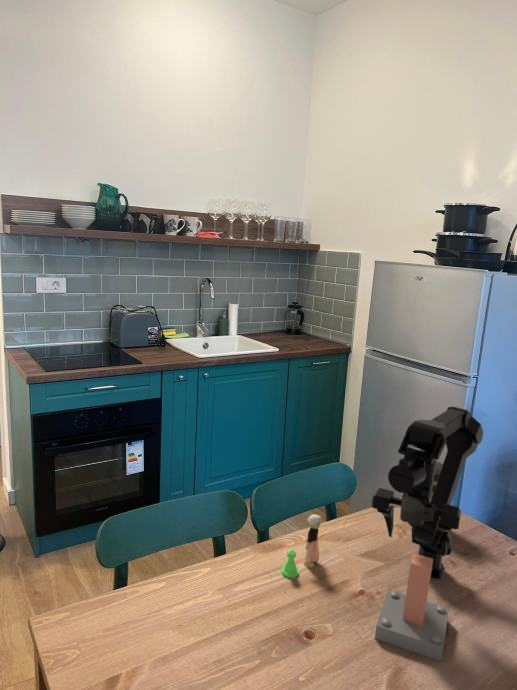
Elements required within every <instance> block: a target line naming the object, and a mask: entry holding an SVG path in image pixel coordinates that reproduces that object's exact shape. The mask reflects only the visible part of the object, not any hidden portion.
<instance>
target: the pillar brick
mask: <svg viewBox="0 0 517 690" xmlns="http://www.w3.org/2000/svg"><path fill="white" fill-rule="evenodd" d="M432 564H433V559H432V558H429V557H425V556H422V555H418V554H417V553H414V552H413V553H412V557H411V561H410V565H409V572H408V577H407V578H408V579H407V587H406V592H405V595H406V599H405V606H404V613H403V620H406V621H409V622H412V623H415V624H418V625H421V626H423V621H424V617H425V611H426V604H427V602H428V596H429V589H430V584H431V577H432V576H431V571H432Z"/></svg>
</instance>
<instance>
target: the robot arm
mask: <svg viewBox="0 0 517 690" xmlns="http://www.w3.org/2000/svg"><path fill="white" fill-rule="evenodd" d="M481 424H482V423H480V422H479V421H478V420H477V419H475V417H473V416H472V413H471V411H469V410H468V409H466V408H465V409H464V408H462V407H457V406H448V407H447V409H446V411H444V412H442V413H441V414H438V416H437V415H436V417H434V418H432V419H430V420H428V419H418V420H414V421H413V422H412V423H411V424H409V426H408V427H407V430H406V432H405V435H404V436H403V439H402V441H401V443H400V445H399V447H398V448H399V449H398V452H397V453H398V454H401V455H403V458H400V459H399V461H398V463H397V464H395V465H394V466H392V468H390V470H389V471H388V474H387V475H388V476H387V479H388V482H389V485H390V486H391V487H392V489H394V490H395V491H397V492H398V493H401V494H402V496H401V498H400V497H395V491H394V490H390V489H386V488H381V487H378V488H377V489H376V490H375V492H374V494H373V496H372V499H371V500H372V501H371V508H373V509H375V510H376V511H377V512H378V513H380V514H381V515H382V516H383V517H384V518H383V519H384V521H385V525H386V529H387V532H388V536H389V538H392V536H393V530H394V514H395V507H396V508H400V513H399V514H400V515H399V518H400V520H401V521H402V522H403V523H409V522H410V523H413V525H411V526H412V527H411V543H413V544H416V545H418V546H419V547H418V551H417V552H418V555H422V556H425V557H429V558H432V559H433V564H432V571H431V577H433V578H437V579H441V578H442V575H443V574H442V572H443V567H444V564H443V562H442V561H443V557H446V556H448V555H450V556H451V554H452V550H453V547H454V545H453V544H454V539H453V537H452V535H451V531H452V530H459V528H460V527H459V525H460V521H461V520H460V519H461V513H462V510H461V508H460V507H459V506H455V505H452V502H453V499H454V495H455V492H456V489H457V486H458V484H459V481H460V478H461V475H462V472H463V468H464V466H465V462H466V460H467V458H469V457H470V456H471V455H472V454H474V453H475V452H476V451H477V448H478V447H479V444H481V442H482V440H483V438H484V436H483V435H484V430H483V427H482V425H481ZM445 447H446V455H445V457H444V459H443V463H442V464H443V466H442V469H441V472H440V475H439V478H438V481H437V484H436V487H435V490H434V493H433V496H432V499H431V494H432V487H433V480H434V473H435V466H436V462H437V460H440V457H441V455H442V453H443V450H444V449H445ZM430 501H431V502H430ZM410 523H409V524H410Z"/></svg>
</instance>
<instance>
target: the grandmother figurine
mask: <svg viewBox="0 0 517 690" xmlns="http://www.w3.org/2000/svg"><path fill="white" fill-rule="evenodd" d="M306 520H307V522H308V524H309V527H310V528H309V530H308V533H307V539H306V545H305V550H306V553H305V559H304V562H303V564H304V566H306V567H308V568H310V569H312V568H313V569H314V567H315V563H317V562H319V560H320V548H319V539H318V538H319V537H318V536H319V528H320V526H321V521H322V517H321V516H320V515H318V514H310V516H309V517H308V518H307V519H306Z"/></svg>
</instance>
